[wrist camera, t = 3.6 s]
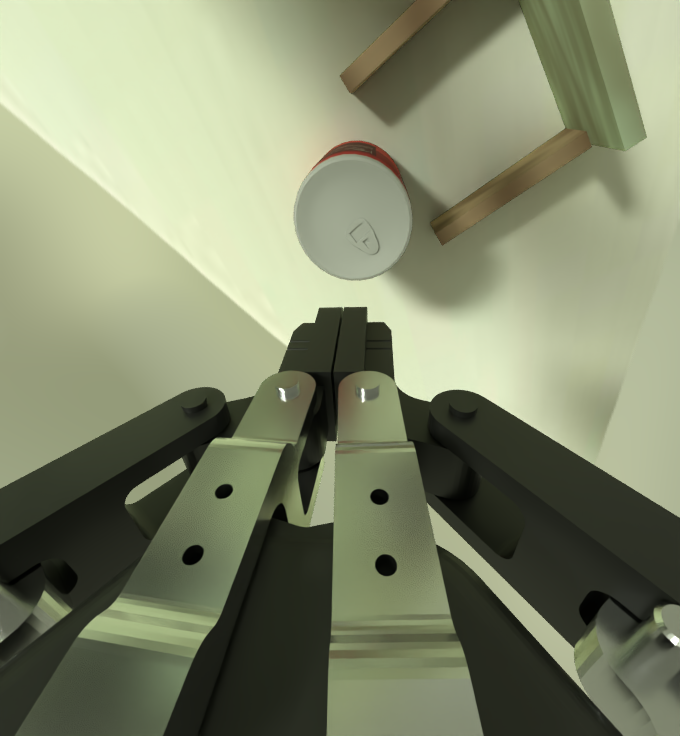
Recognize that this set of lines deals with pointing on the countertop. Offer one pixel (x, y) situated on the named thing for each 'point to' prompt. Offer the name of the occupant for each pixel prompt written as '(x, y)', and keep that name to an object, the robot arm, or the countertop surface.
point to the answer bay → (567, 81)
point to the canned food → (353, 212)
